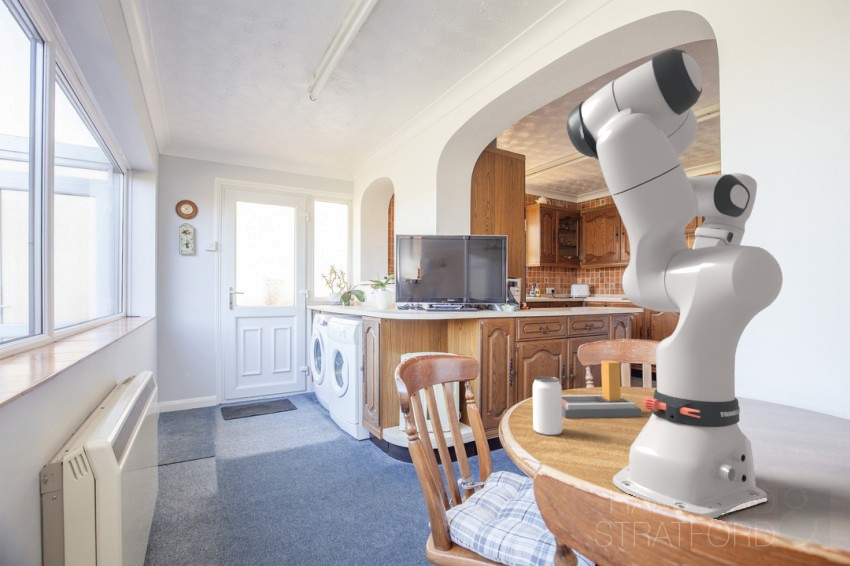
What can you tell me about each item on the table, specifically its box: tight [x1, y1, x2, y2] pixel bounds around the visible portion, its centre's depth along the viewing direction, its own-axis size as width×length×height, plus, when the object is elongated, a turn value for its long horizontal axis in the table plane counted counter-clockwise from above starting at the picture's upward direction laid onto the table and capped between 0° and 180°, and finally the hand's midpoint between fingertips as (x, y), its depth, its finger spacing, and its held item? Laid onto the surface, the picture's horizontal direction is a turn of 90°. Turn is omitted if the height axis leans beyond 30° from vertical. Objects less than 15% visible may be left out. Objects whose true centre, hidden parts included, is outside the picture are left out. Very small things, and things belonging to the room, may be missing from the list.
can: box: [532, 375, 563, 437], centre depth 91 cm, size 6×6×12 cm
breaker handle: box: [597, 359, 626, 403], centre depth 107 cm, size 5×6×11 cm
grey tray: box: [562, 394, 643, 419], centre depth 107 cm, size 20×11×3 cm, turn 92°
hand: (699, 293), depth 97 cm, fingers open, 8 cm apart
